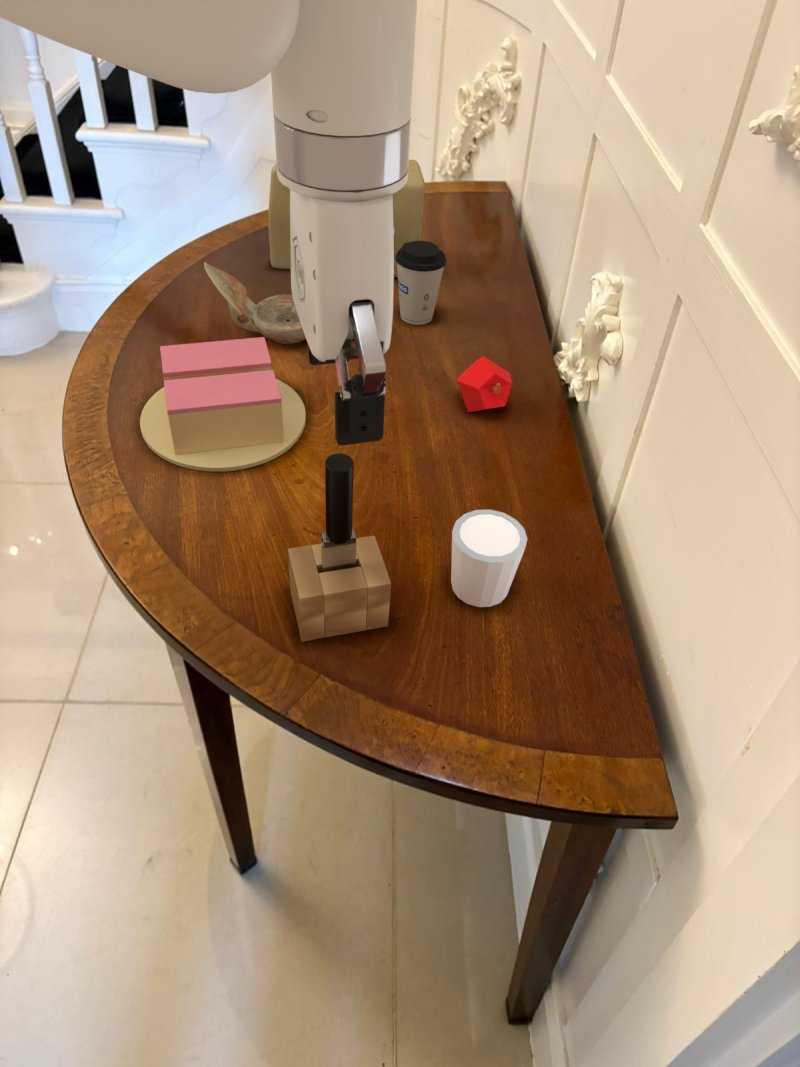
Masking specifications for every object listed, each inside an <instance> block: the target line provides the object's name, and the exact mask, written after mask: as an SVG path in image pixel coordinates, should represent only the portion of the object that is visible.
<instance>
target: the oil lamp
mask: <svg viewBox="0 0 800 1067" xmlns="http://www.w3.org/2000/svg"><path fill="white" fill-rule="evenodd" d="M203 268H204V270H205V273H206V274H207V276H208V278H209V279H210V281H211V282H212V284H213V285H214V287H215V288H216V289H217V291H218V292H219V293H220V294H221V296H222V297H223V298H224V299H225V300H226V302H227V306H228V310H229V313H230V316H231V319H232V321H233V323H234V324H235V325H236V326H237V327H238V328H241V329H243V330H246V331H250V332H255V333H260V335H262V337H264V338H265V339H268V340H269V341H272V342H274V343H277V344H280V345H292V344H296V343H300V342H303V341H305V340H306V337H305V334H304V331H303V328H302V325H301V323H300V320H299V317H298V314H297V311H296V307H295V304H294V301H293V296H292V293H291V294H289V293H288V294H287V293H286V294H285V293H283V294H276V295H272V296H267V297H266V298H264V299H262V300H260V301H259V302H257V304H256V303H254V302H253V301H252V300H251V298H249V297H248V292H247V288H246V286H245V285H244V284H243V283H242V282H241V281H240V280H238V279H237V278H235V276H233V275H231V274H229V273H228V272H226V271H224V270H222V269H220V268H218V267H215V266H212V265H210V264H209V263H208V262H207V261H205V262H203ZM240 316H245V317H246V318H247V320H241V318H240ZM306 341H307V340H306Z"/></svg>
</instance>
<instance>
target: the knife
mask: <svg viewBox="0 0 800 1067" xmlns="http://www.w3.org/2000/svg"><path fill="white" fill-rule="evenodd" d="M354 463H355V462H354V460H353V458H352V456H350V455H348V454H346V453H341V452H339V453H338V452H337V453H333V454H330V455H328V456H327V457H326V458H325V460H324V477H325V478H324V483H325V484H324V486H325V491H324V492H325V496H324V497H325V499H324V500H325V532H322V533H321V542H320V544H321V563H322V572H328V571H335V570H341V569H347V568H354V567H356V538H357V535H356V532H355V529H354V528H353V514H354V513H353V512H354V510H353V509H354V507H353V506H354V472H355V470H354V468H355V465H354Z"/></svg>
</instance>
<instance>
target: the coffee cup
mask: <svg viewBox="0 0 800 1067" xmlns="http://www.w3.org/2000/svg"><path fill="white" fill-rule="evenodd" d="M395 259H396V262H397V269H398V278H397V284H398V299H399V300H398V301H399V313H400V314H399V315H400V318H401V320H402V321H403V322H405V323H407V324H410V325H416V326H417V325H418V326H419V325H426V324H428V323H430V322H431V321H432V320H433V316H434V312H435V308H436V304H437V299H438V295H439V290H440V287H441V282H442V279H443V278H442V277H443V275H444V274H443V273H444V270H445V266H446V265H447V257H446V254H445V253H444V252H443V250H441V249H440V248H439V246H438V245H437V244H436V243H434V242H431V241H426V240H421V241H412V242H407V243H404V245H403V246H402V248H401V249H399V251H398V252H397V254H396V256H395Z"/></svg>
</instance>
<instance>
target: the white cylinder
mask: <svg viewBox="0 0 800 1067" xmlns="http://www.w3.org/2000/svg"><path fill="white" fill-rule="evenodd" d="M527 542H528V536H527V533H526V530H525V528H524V527H523V525H522V524H521V523H520V522H519V521H518V519H516V518H515V517H512V516H511V515H509V514H507V513H506V512H502V511H499V510H495V509H474V510H472V511H468V512H466V513H464V514H462V515H461V516H460V517H459V518H458V519H457V520H455V522H454V524H453V527H452V531H451V563H450V564H451V565H450V566H451V569H450V583H451V589H452V591H453V593H454V594H455V596H456V597H457V598H458V599H459V600H461V601H462V602H463V603H465V604H467V605H469V606H473V607H477V608H491V607H494V606H496V605H499V604H501V603H502V602H503V601H504V600H505V599H506V597H508V593H509V591H510V588H511V586H512V584H513V581H514V579H515V576H516V574H517V570H518V569H519V566H520V562H521V561H522V558H523V555H524V554H525V553H524V552H525V550H526V547H527Z"/></svg>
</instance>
